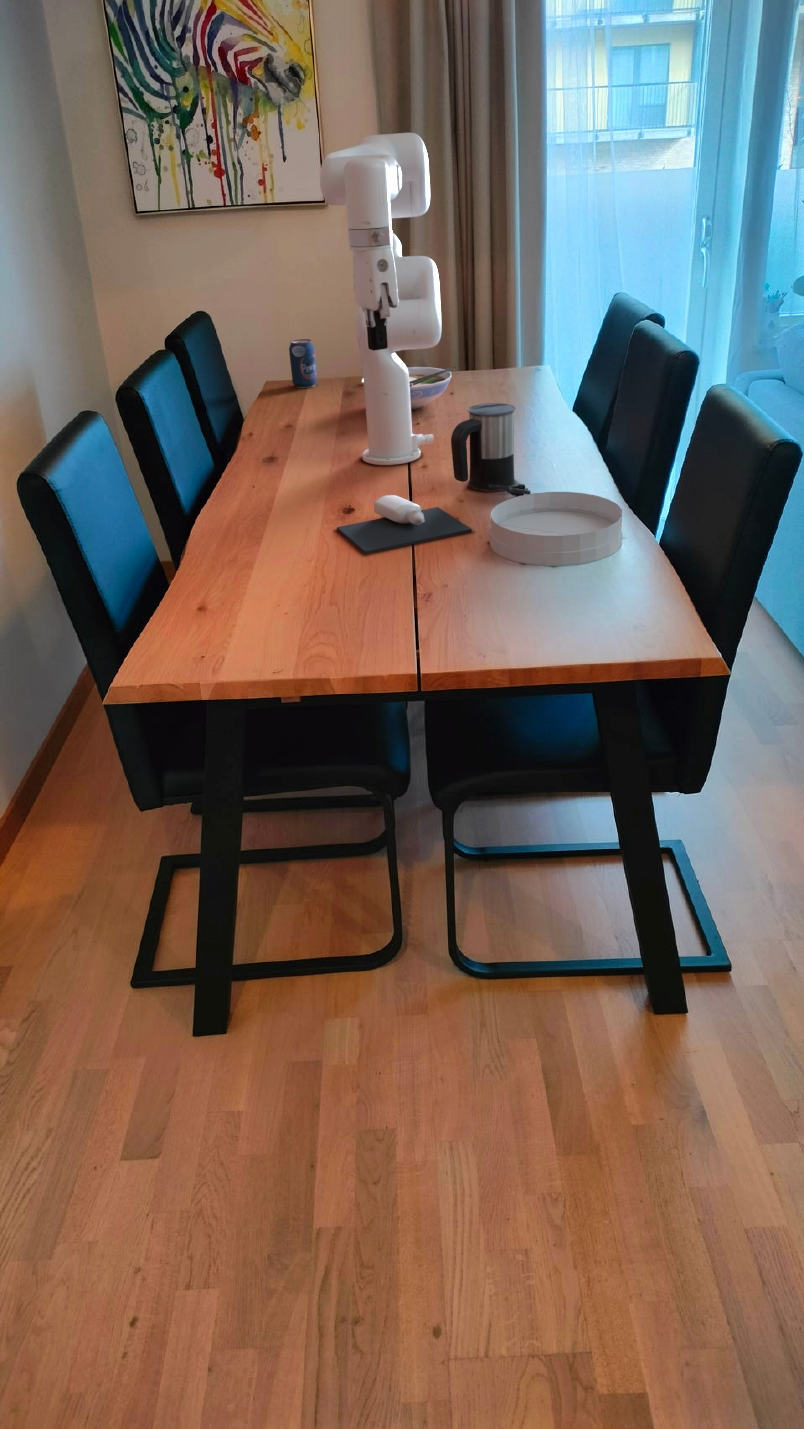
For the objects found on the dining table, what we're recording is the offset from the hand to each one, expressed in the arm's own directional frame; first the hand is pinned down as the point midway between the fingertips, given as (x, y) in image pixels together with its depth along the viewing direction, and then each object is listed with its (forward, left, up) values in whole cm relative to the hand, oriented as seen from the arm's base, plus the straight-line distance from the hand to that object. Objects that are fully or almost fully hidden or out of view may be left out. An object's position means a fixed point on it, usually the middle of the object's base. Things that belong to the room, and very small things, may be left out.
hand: (378, 348), depth 188 cm
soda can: (-17, -101, -27) cm, 106 cm away
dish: (-14, +40, -27) cm, 50 cm away
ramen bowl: (-31, -61, -27) cm, 74 cm away
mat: (+6, +22, -27) cm, 35 cm away
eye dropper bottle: (+6, +12, -25) cm, 28 cm away
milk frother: (-19, +11, -27) cm, 35 cm away
